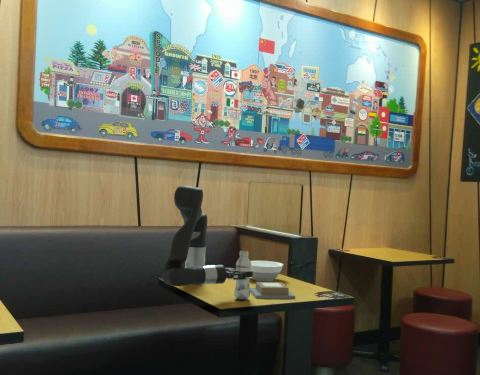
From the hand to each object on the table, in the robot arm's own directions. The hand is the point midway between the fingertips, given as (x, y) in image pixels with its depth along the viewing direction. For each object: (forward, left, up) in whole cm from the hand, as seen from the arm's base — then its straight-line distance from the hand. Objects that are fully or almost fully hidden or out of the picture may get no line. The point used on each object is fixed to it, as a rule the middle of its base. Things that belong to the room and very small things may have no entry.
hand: (247, 272), depth 213 cm
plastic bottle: (-2, -1, -11) cm, 11 cm away
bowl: (+17, +44, -11) cm, 49 cm away
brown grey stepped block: (+13, +9, -11) cm, 19 cm away
